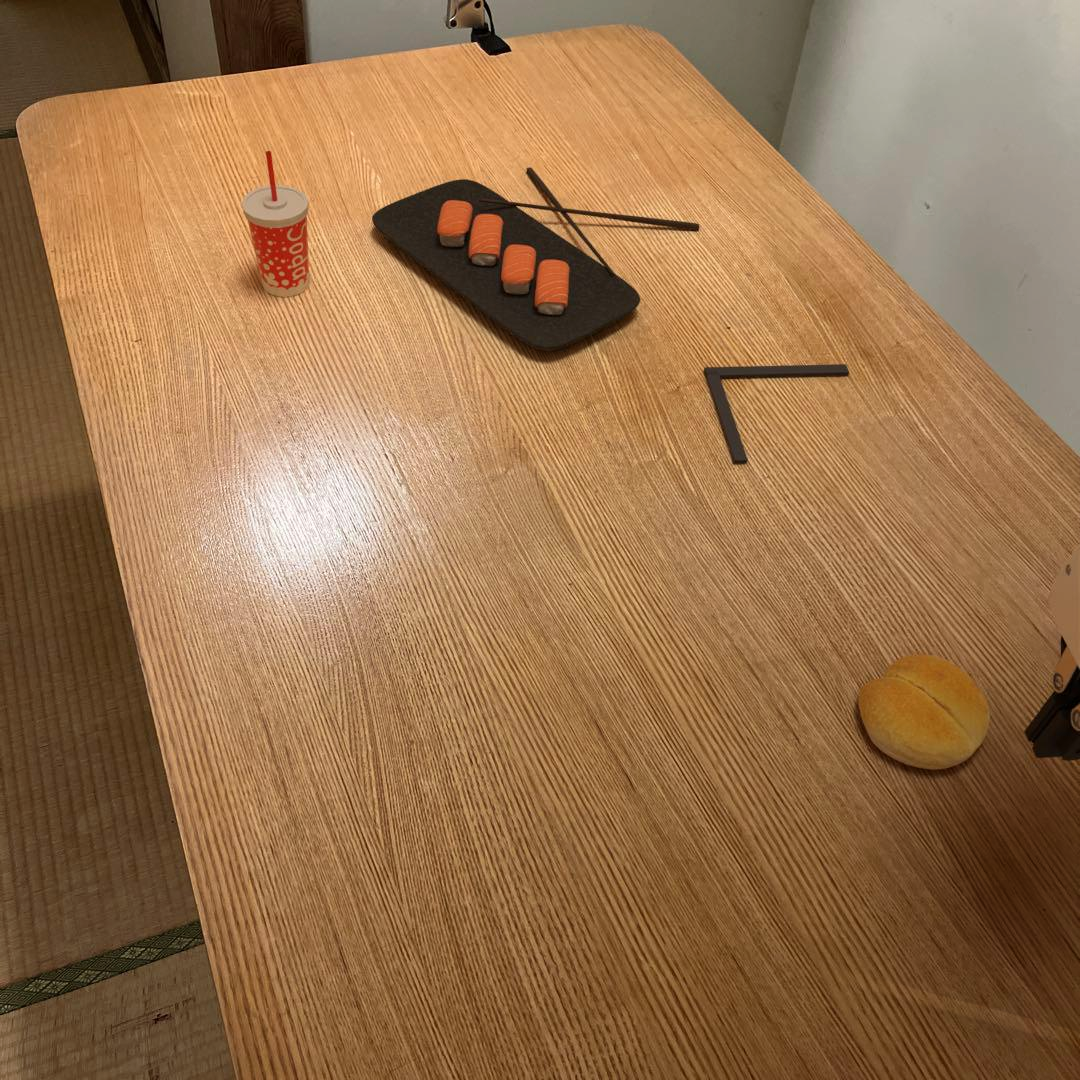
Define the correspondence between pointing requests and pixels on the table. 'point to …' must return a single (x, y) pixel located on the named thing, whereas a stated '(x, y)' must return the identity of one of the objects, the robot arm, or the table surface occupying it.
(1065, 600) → the robot arm
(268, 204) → the beverage cup
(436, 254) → the sushi plate
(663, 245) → the table surface
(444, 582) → the table surface
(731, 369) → the corner guide
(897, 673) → the bread roll
